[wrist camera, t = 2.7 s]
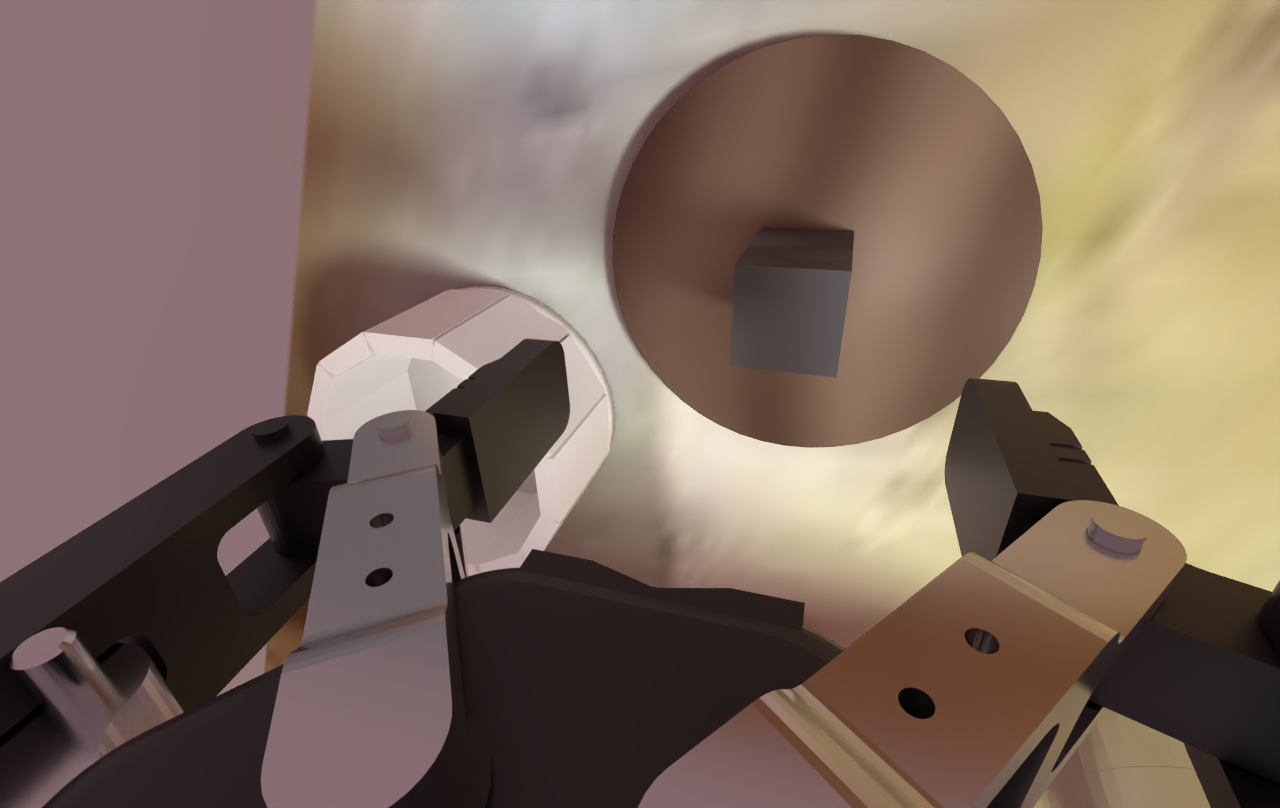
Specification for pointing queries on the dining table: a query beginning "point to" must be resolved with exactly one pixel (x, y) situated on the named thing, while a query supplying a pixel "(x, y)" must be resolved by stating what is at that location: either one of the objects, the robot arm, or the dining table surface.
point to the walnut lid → (827, 240)
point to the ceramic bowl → (439, 361)
